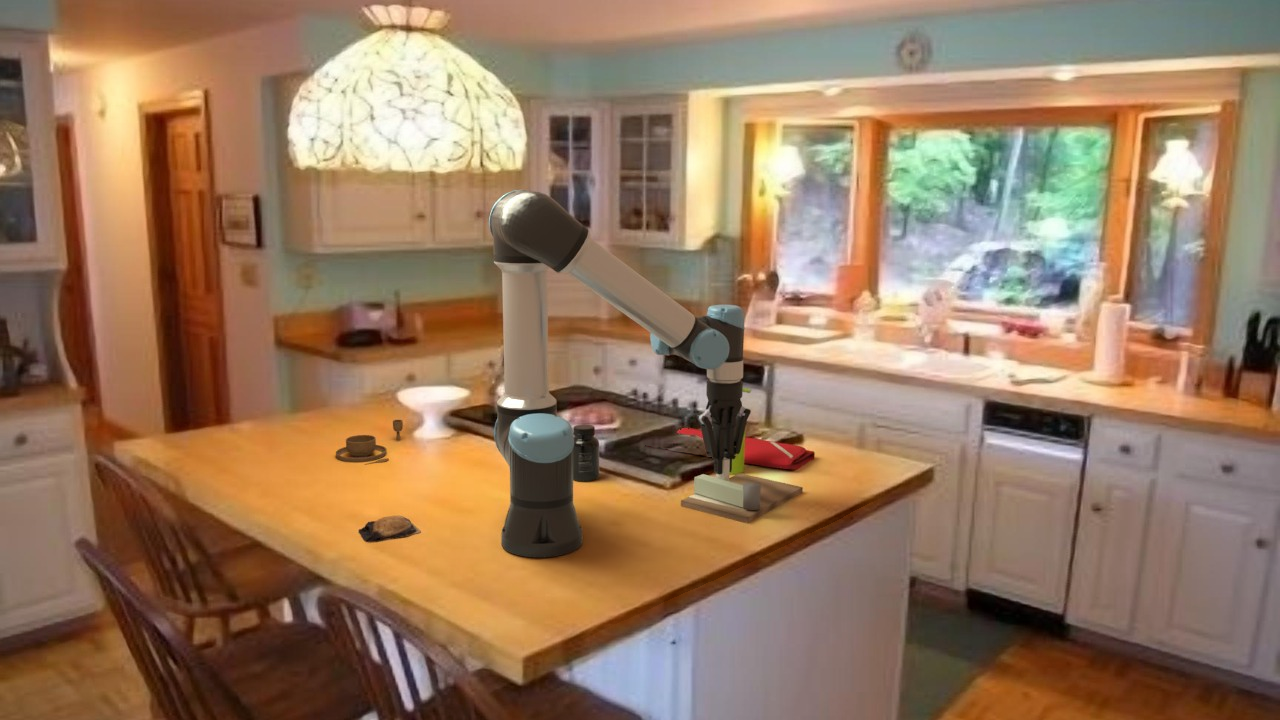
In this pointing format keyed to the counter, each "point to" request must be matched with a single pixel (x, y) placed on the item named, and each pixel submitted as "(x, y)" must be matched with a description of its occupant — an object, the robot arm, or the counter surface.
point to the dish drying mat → (768, 452)
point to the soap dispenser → (739, 459)
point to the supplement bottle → (585, 453)
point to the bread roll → (388, 529)
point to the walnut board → (770, 498)
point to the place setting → (366, 447)
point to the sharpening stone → (729, 491)
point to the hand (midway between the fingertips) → (722, 487)
